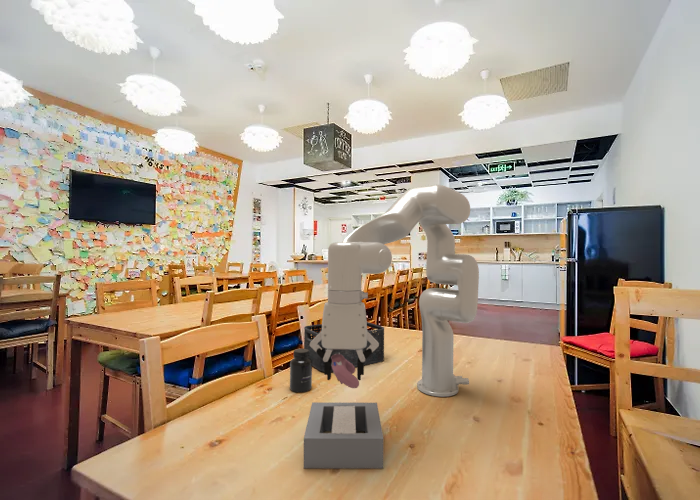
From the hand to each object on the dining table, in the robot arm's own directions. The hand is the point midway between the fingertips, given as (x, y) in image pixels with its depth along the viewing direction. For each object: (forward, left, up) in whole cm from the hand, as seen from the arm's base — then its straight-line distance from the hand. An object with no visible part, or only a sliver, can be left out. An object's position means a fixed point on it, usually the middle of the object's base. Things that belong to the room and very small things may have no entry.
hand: (344, 377), depth 76 cm
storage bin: (+1, -59, -16) cm, 61 cm away
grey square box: (0, 0, -15) cm, 15 cm away
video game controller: (0, 0, -1) cm, 1 cm away
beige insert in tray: (0, 0, -11) cm, 11 cm away
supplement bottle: (+14, -31, -16) cm, 37 cm away
